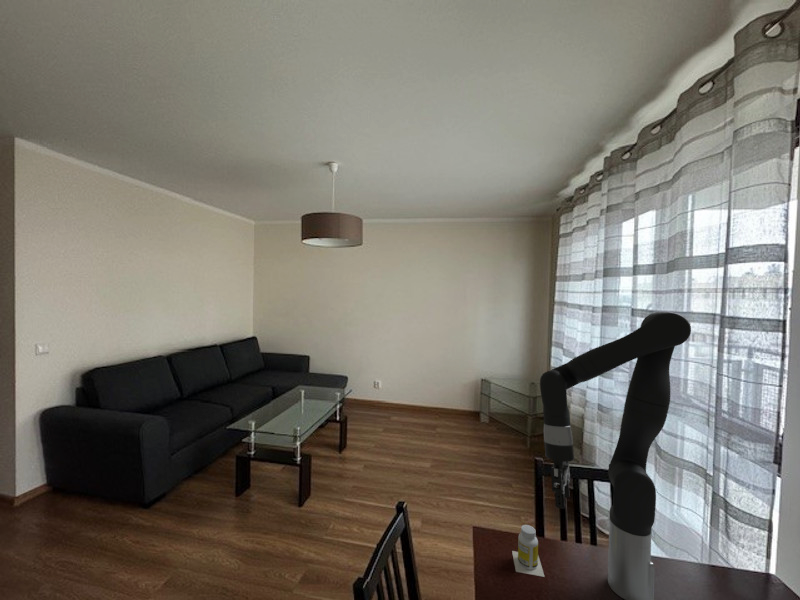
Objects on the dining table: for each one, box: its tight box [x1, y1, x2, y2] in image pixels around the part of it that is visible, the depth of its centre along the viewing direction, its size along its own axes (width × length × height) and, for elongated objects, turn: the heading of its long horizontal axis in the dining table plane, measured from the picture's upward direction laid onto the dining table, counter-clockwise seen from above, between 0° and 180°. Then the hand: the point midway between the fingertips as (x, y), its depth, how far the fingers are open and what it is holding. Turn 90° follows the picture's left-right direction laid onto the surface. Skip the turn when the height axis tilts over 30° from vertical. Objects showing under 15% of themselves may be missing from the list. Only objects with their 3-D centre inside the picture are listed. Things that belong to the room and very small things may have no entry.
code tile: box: [511, 550, 546, 578], centre depth 96 cm, size 8×8×1 cm
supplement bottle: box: [517, 524, 539, 570], centre depth 96 cm, size 5×5×10 cm
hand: (563, 502), depth 92 cm, fingers open, 8 cm apart
